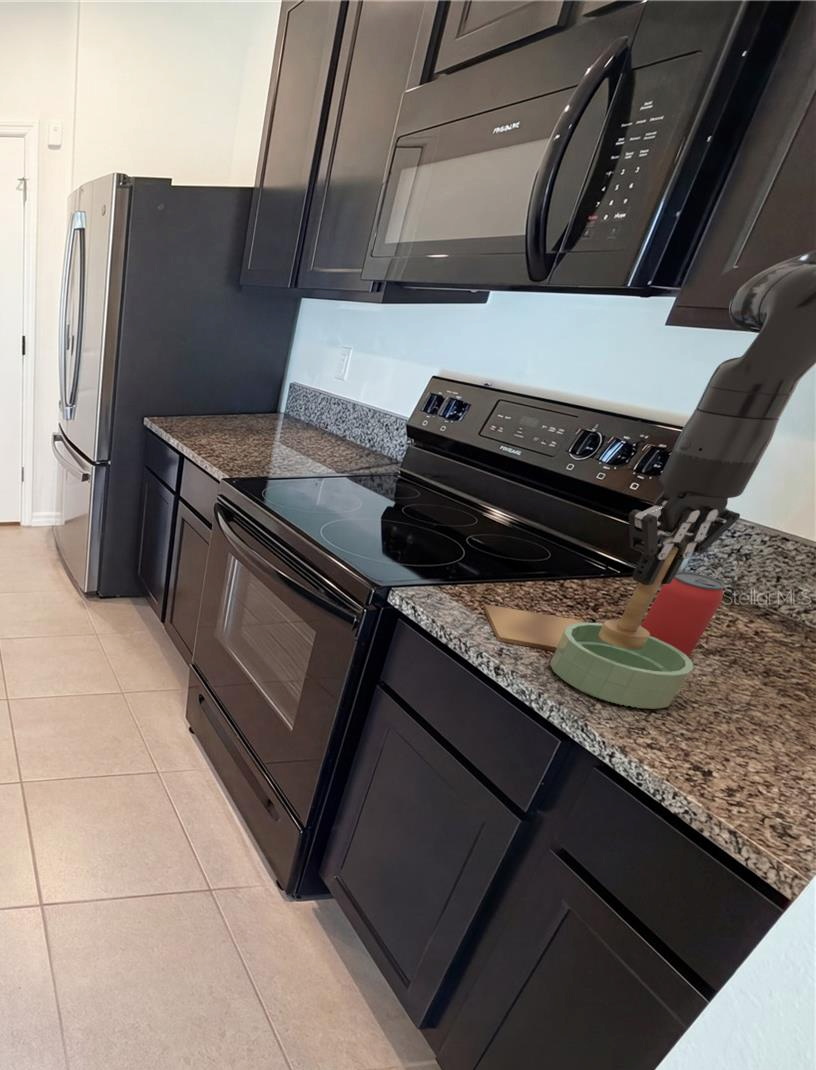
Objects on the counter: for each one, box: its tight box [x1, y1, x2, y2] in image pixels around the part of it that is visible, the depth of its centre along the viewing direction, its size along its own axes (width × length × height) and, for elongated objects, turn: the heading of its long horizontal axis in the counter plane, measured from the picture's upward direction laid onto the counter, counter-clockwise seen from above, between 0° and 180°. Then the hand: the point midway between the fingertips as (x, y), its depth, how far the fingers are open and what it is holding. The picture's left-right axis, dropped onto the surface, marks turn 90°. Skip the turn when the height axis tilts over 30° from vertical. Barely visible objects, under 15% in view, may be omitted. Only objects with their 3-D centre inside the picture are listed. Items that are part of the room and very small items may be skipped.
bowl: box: [549, 621, 694, 710], centre depth 91 cm, size 14×14×6 cm
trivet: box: [482, 603, 585, 652], centre depth 104 cm, size 14×12×1 cm
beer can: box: [640, 571, 726, 657], centre depth 98 cm, size 7×7×12 cm
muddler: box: [598, 543, 678, 650], centre depth 86 cm, size 5×5×14 cm
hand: (650, 581), depth 85 cm, fingers closed on muddler
